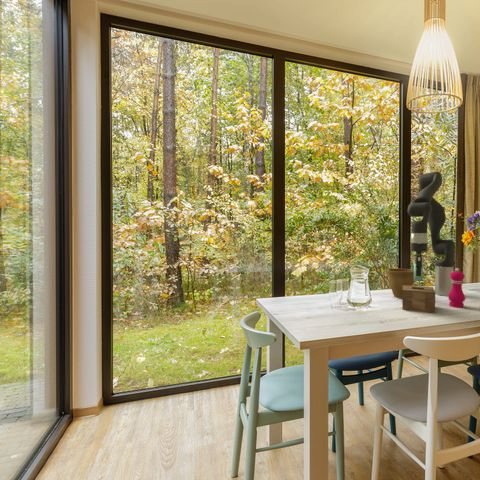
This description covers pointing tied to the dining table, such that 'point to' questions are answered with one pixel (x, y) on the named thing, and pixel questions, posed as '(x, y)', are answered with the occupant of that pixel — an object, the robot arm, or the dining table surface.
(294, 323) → the dining table surface
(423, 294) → the socket block
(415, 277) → the peg
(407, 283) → the plant pot
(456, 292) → the pepper mill
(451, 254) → the robot arm
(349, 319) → the dining table surface
